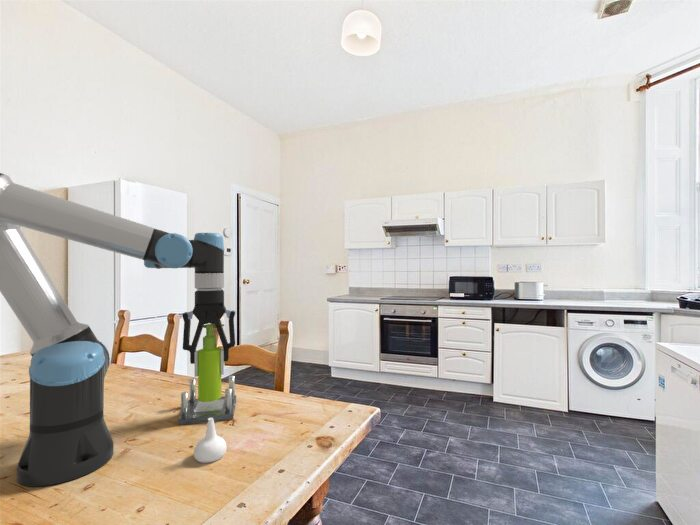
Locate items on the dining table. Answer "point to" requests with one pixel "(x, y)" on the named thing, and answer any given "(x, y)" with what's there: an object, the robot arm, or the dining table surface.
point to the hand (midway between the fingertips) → (209, 374)
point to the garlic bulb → (210, 445)
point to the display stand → (207, 406)
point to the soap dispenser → (209, 368)
